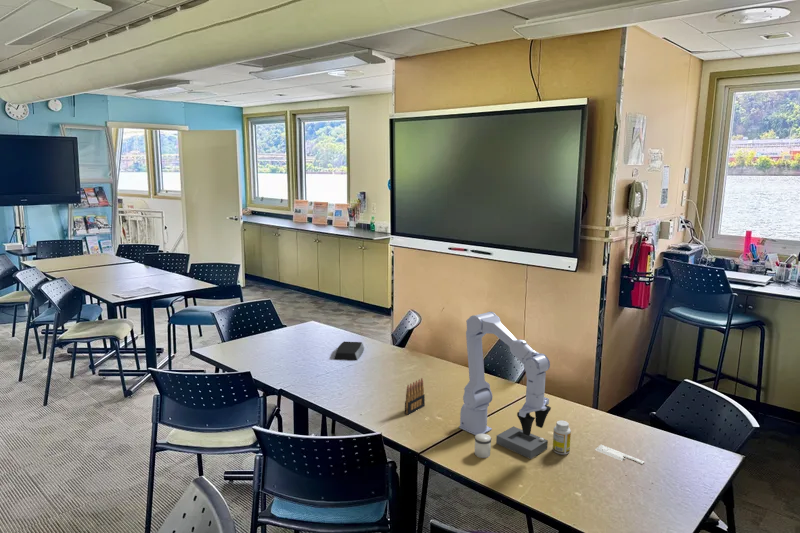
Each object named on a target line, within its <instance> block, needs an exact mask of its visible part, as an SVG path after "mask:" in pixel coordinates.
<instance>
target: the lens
mask: <svg viewBox="0 0 800 533" xmlns="http://www.w3.org/2000/svg"><path fill="white" fill-rule="evenodd" d="M491 442H492V437H491V435H489V434H487V433H484V434H477V435H474V455H475V456H476V457H477V458H479V459H480V458H481V459H486V458H489V457H490V456H491V447H492V446H491V445H492V443H491Z"/></svg>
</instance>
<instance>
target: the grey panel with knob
mask: <svg viewBox="0 0 800 533" xmlns="http://www.w3.org/2000/svg"><path fill="white" fill-rule="evenodd" d="M495 438H496V442H495V443H496V445H499V446H501V447H503V448H505V449H507V450H509V451H511V452H514V453H516V454H519V455H521V456H522V457H525V458H527V459H530V460H532V459H533V458H535V457H536V456H538V455H540V454H542V453H543V452H544V451H546V450H547V449H548V446H549V444H548V443H549V440H547V439H545V438H544V437H541V436H538V435H536V434H533V433H530V435H529V436H527V435H525V434H523V430H522V429H521V428H518V427H516V426H512V427H509V428H508V429H506V430H504V431H501V433H498V434H497V435H496V437H495Z"/></svg>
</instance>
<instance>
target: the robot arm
mask: <svg viewBox="0 0 800 533" xmlns="http://www.w3.org/2000/svg"><path fill="white" fill-rule="evenodd" d="M486 334H492V335H494V336H496V337H497V338H498V339H499V340H500V341H502V342H503V343H504V344H505V345H507V346H508V347H509V352H510V353H511V354H512V355H513V356H514V357H515V358H516V359H517V360H518V361H519V362H520V363H522V364H523V369H524V371H525V377H526V387H525V388H526V391H525V402H524V404H523V405H522V407H521V408H519V410H518V412H517V413H516V416H517V418H518V420H519V422H520V424H521V428H522V429H521V430H523V434H525V435H527V436H529V435H530V433H531V432H532V426H533V424H534V421H535V427H537V428H540V429H542V428H544V424H545V421H546V420H547V419H546V418H547V416H548V414H549V412H551V409H552V407H551V406H549V403H550V398H548V397H546V396H545V391H546V389H545V388H546V374H547V372H548V370H550V367H551V362H550V359H549V358H548V357H547V355H546V354H545V353H542V352H541V353H540V352H539V351H536V350H534V349H533V348H532V347H531V346H530V345H529V344H528V342H527V341H526V340H524V339H520V338H519V339H517V338H516V337H515V336H514V334H512V333H511V331H510V330H509V329H508V328H507V327H506V326H505V325H504V324H503V323H502V322H501V318H500V317H499V316H498V315H497V314H496V313H495V312H494V311H487V312H483V313H480V314H479V313H478V314H475V315H474V314H473V315H470V316H469V318H467V319H466V331H465V338H466V351H467V352H466V353H467V362H468V363H467V364H468V378H469V379H468V380H469V381H468V382H467V384H466V385H465V386H464V388H463V390H464V393H463V396H462V398H463V399H462V401H463V404H462V406H461V408H460V413H459V415H460V417H459V419H460V420H459V423H460V424H459V426H458V428H459V429H461V430H464V431H465V432H467V433H470V434H472V435H474V436H476V435H477V434H487V433H488V432H490V431H492V430H493V428H492V427H490V426H488V408H489V406H490V403H491V402H492V401H493V396H494V395H493V393H492V392H493V391H492V390H491V385H490V383H489V382H487V381H486V379H485V378H486V376H485V366H484V364H485V363H484V352H483V350H484V349H483V337H484V336H485V335H486ZM546 371H547V372H546ZM531 413H534V414H535V417H534V416H533V415H532V414H531ZM531 434H532V433H531Z"/></svg>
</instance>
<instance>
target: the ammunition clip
mask: <svg viewBox="0 0 800 533" xmlns="http://www.w3.org/2000/svg"><path fill="white" fill-rule="evenodd" d="M424 393H425V388H424V379H423V377H421V378H420V379H418V380H416V381H413V382H412V383H410V384H407V386H406V392H405V401H404V415H406V416H409V414H410V415H412V414H413V413H415V412H416V410H417V411H418V409H419V410H420V409H422V408H424V407H425V406H426V405H425V404H426V403H425V401H426V400H425V394H424Z"/></svg>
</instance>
